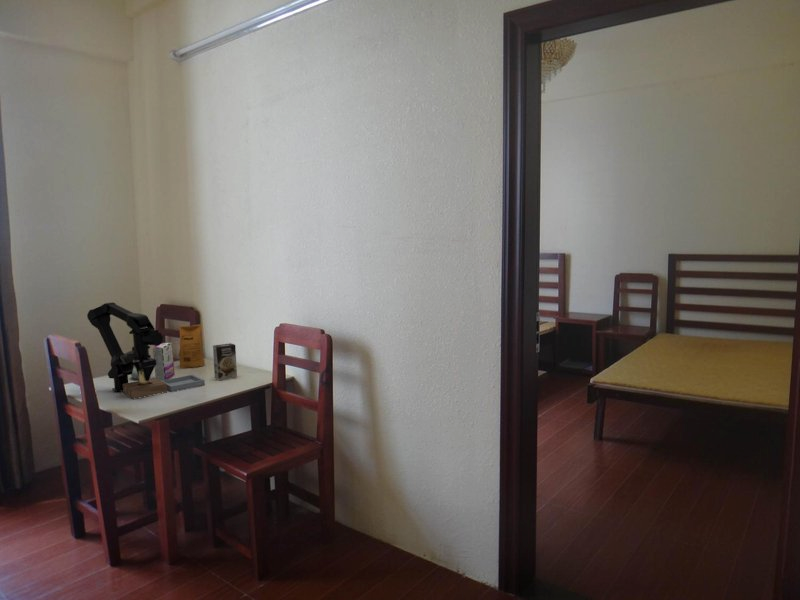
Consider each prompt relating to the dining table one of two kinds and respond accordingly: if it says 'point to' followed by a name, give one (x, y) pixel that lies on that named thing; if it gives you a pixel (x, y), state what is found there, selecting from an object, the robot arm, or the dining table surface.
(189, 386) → the tray
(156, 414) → the dining table surface
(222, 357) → the coffee box
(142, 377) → the pin
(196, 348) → the coffee package
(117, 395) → the dining table surface
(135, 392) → the hitch block
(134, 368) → the air freshener
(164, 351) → the candy bar box
